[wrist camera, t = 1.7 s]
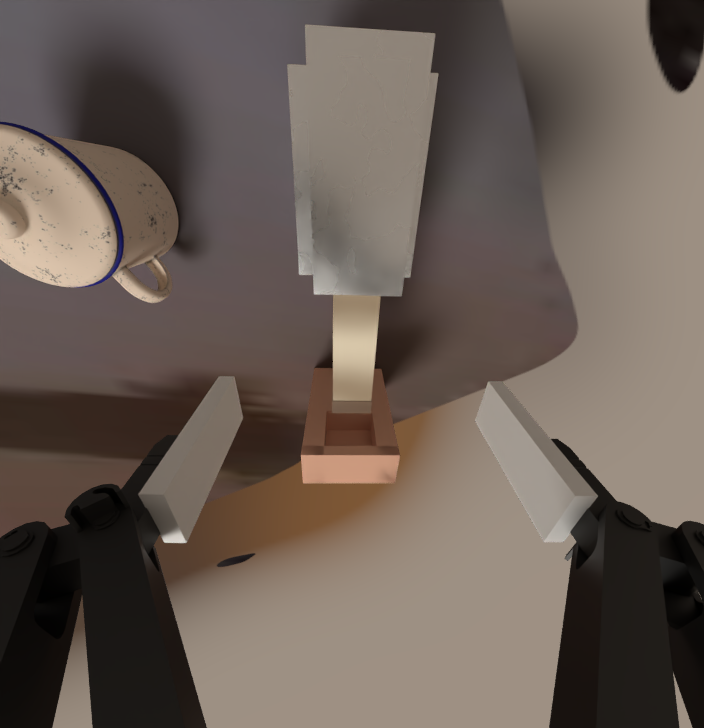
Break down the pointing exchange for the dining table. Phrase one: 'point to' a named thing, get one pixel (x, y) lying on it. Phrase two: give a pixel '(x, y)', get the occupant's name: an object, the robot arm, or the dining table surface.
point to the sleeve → (360, 155)
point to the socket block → (348, 437)
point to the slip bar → (354, 352)
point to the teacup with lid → (82, 213)
